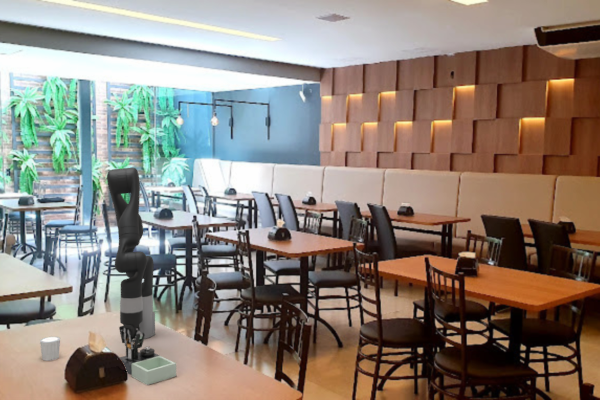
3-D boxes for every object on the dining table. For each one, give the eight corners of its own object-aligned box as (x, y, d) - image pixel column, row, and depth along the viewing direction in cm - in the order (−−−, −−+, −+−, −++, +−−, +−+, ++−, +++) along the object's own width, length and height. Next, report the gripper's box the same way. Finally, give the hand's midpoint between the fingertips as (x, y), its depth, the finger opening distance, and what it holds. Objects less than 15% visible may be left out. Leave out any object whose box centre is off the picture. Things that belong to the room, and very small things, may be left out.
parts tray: (160, 368, 201) (160, 355, 200) (176, 376, 194) (176, 363, 193) (131, 376, 193) (131, 363, 193) (147, 385, 186) (147, 371, 186)
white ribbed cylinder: (53, 362, 205) (52, 343, 205) (36, 360, 207) (35, 341, 206) (64, 355, 212) (64, 337, 211) (48, 353, 213) (47, 335, 213)
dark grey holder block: (148, 359, 209) (148, 342, 209) (161, 365, 203) (161, 348, 202) (117, 367, 201) (117, 350, 200) (130, 374, 194) (130, 356, 194)
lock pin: (133, 366, 202) (133, 341, 201) (138, 369, 200) (138, 343, 199) (125, 368, 200) (125, 343, 199) (130, 371, 197) (129, 346, 197)
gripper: (151, 311, 196) (152, 360, 197) (131, 303, 205) (131, 350, 207) (131, 315, 190) (132, 365, 192) (111, 307, 200) (112, 355, 202)
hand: (131, 357), depth 199 cm, fingers closed on lock pin, 3 cm apart
